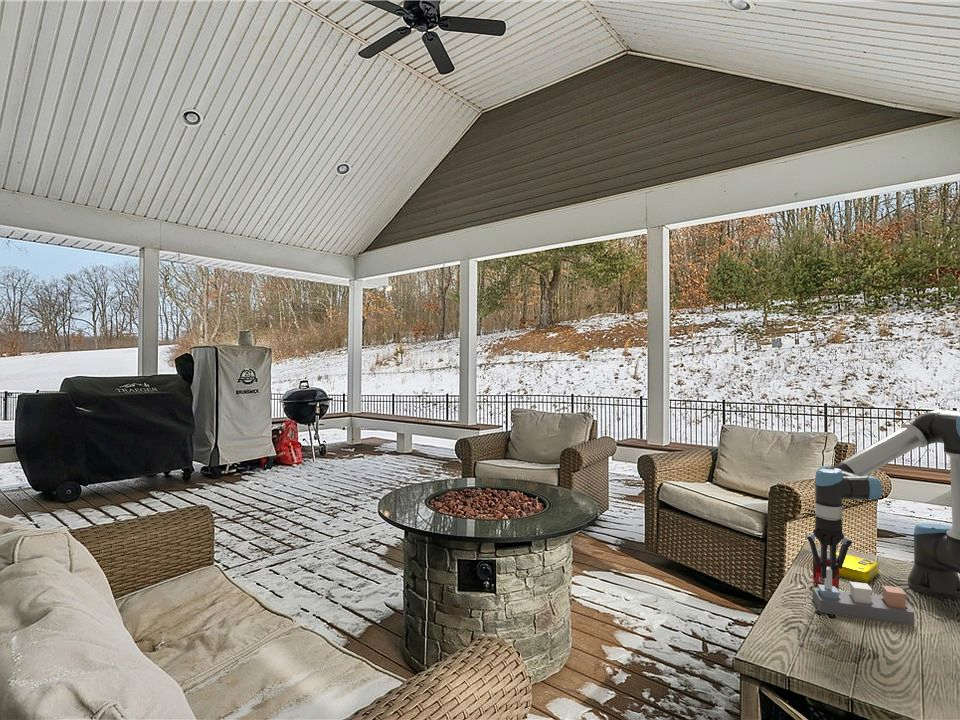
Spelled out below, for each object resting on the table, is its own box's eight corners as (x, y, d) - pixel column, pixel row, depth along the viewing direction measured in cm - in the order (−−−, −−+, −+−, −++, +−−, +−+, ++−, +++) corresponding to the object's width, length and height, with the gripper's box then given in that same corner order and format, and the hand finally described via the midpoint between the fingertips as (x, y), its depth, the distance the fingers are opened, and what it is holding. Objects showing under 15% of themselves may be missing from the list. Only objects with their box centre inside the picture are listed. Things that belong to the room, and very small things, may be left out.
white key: (867, 598, 174) (867, 583, 174) (872, 605, 169) (872, 590, 169) (849, 596, 175) (849, 581, 175) (854, 603, 171) (854, 587, 171)
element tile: (835, 561, 214) (835, 549, 214) (880, 573, 203) (880, 561, 203) (821, 571, 205) (821, 559, 205) (867, 584, 193) (867, 571, 193)
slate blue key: (835, 601, 177) (835, 586, 177) (839, 608, 172) (839, 592, 172) (817, 599, 178) (817, 584, 178) (821, 605, 174) (821, 590, 174)
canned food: (844, 588, 189) (844, 558, 189) (821, 588, 189) (821, 558, 189) (830, 579, 196) (830, 550, 196) (808, 579, 197) (808, 550, 196)
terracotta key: (900, 602, 171) (900, 587, 170) (906, 610, 166) (906, 594, 166) (881, 600, 172) (881, 585, 172) (887, 607, 168) (887, 591, 167)
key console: (900, 610, 173) (900, 598, 173) (914, 625, 163) (914, 612, 163) (812, 599, 181) (812, 587, 181) (820, 612, 172) (820, 600, 172)
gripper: (848, 515, 176) (847, 585, 176) (803, 511, 181) (803, 580, 181) (855, 522, 169) (855, 595, 169) (808, 518, 174) (808, 589, 174)
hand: (828, 587), depth 175 cm, fingers closed
